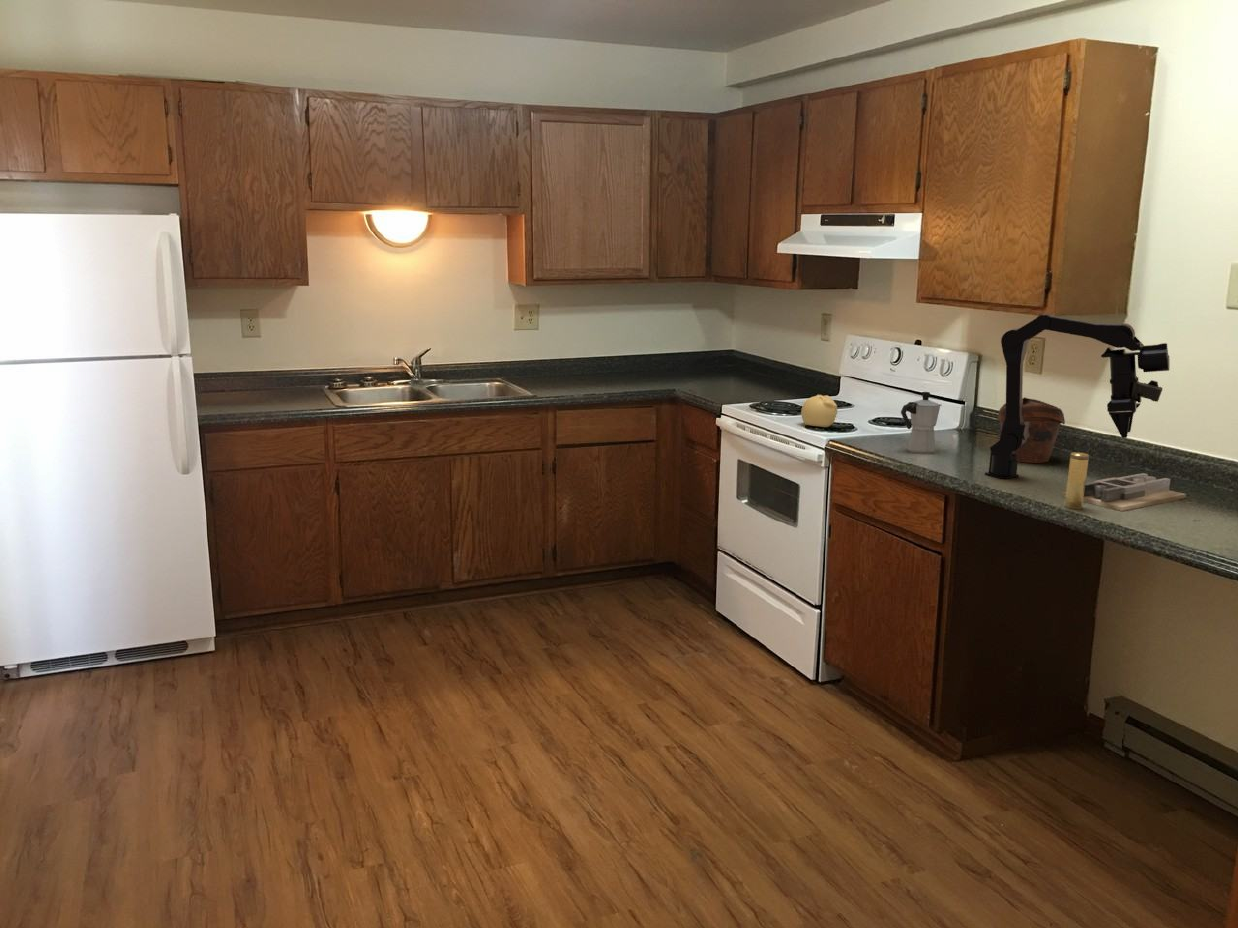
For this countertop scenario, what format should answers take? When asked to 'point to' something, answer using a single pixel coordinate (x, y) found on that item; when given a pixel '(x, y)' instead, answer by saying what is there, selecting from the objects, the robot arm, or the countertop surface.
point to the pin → (1076, 480)
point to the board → (1136, 500)
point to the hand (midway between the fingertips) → (1126, 435)
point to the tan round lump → (819, 411)
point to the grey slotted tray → (1125, 487)
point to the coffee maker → (921, 424)
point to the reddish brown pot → (1037, 429)
